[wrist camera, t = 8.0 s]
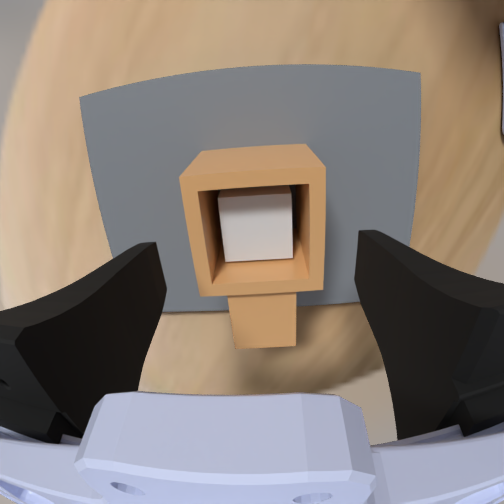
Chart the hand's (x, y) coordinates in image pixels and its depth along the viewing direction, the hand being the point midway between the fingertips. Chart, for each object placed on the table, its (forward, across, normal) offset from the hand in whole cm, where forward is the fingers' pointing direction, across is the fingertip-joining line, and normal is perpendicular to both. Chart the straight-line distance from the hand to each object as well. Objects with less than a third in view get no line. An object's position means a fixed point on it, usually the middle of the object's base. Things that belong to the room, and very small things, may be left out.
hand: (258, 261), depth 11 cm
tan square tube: (+6, 0, +1) cm, 6 cm away
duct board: (+7, 0, 0) cm, 7 cm away
